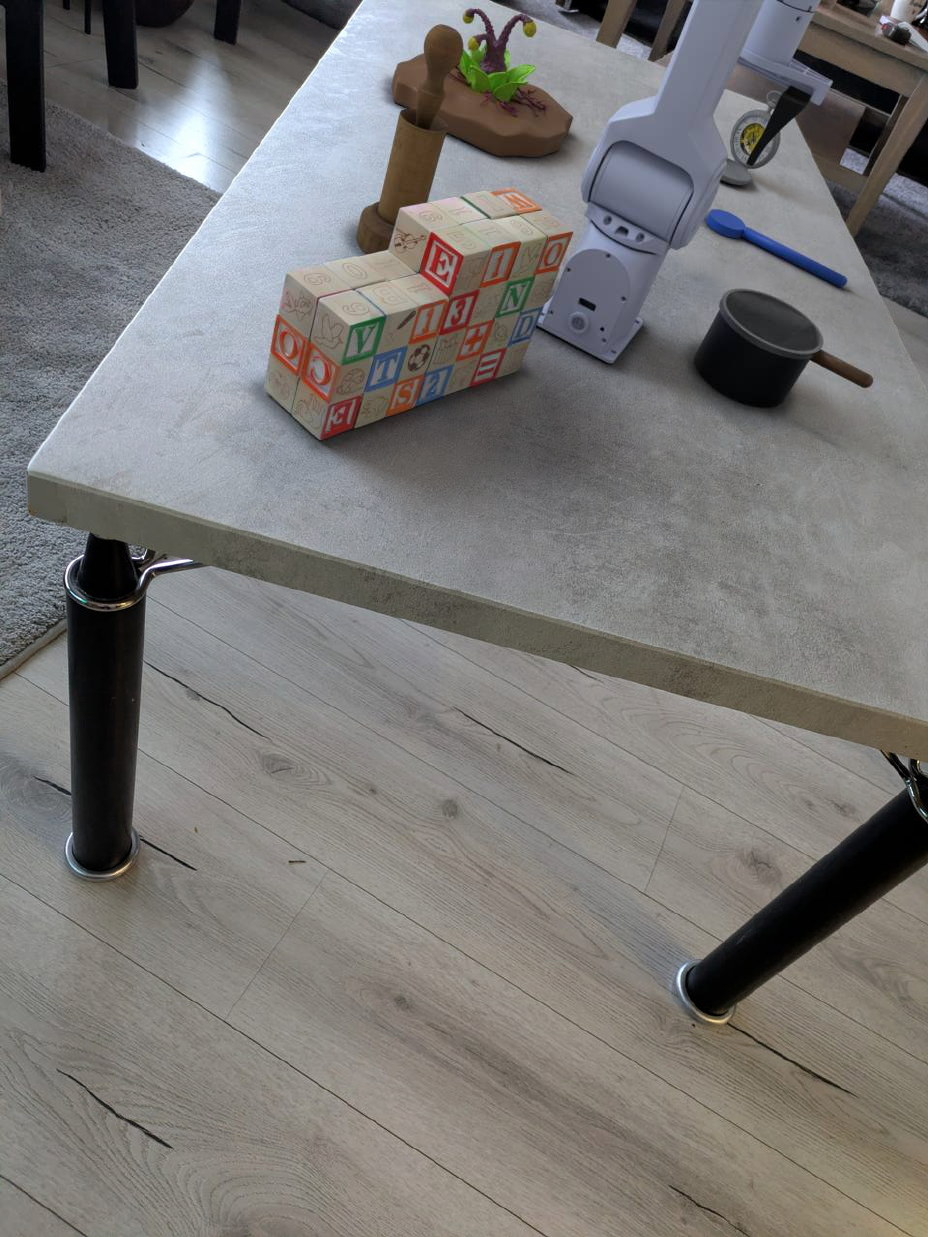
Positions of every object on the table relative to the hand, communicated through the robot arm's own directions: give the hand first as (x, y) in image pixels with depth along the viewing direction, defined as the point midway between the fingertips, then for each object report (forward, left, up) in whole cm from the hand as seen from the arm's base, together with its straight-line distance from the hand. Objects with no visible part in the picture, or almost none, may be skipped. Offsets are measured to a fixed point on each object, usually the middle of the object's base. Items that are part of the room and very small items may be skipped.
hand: (716, 145), depth 100 cm
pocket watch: (+26, 0, -10) cm, 28 cm away
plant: (+6, +27, -10) cm, 29 cm away
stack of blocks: (-48, +9, -10) cm, 50 cm away
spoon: (+9, -10, -10) cm, 17 cm away
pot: (-22, -16, -10) cm, 29 cm away
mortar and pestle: (-31, +19, -10) cm, 38 cm away
